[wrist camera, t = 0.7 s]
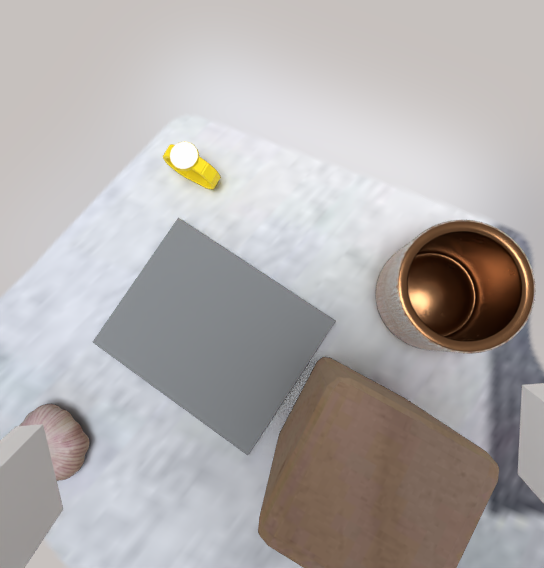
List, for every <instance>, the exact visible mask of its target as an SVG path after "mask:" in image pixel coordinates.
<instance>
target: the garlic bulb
mask: <svg viewBox="0 0 544 568" xmlns="http://www.w3.org/2000/svg"><path fill="white" fill-rule="evenodd" d="M40 424H43V426H44V430H45V435H46V439H47V443H48V447H49V451H50V455H51V460H52V464H53V468H54V472H55V476H56V480H57V481H59V480H65V479H67V478H70V477H71V476H73V475H74V474H75V473H76V472H77V471H78V470H79V469H80V468H81V466H82V465H83V462H84V459H85V454H86V452H87V450H88V448H89V444H90V443H89V438H88V436H87V435H86V434H85V433H84V432H83V430H82V428H81V426H80V424H79V423H78V422H76V421H75V420H74V419H73V417H72V415H71V414H70V413H69V412H68V411H66V410H63V409H61V408H60V407H59V406H57V405H53V404H45V405H42V406H40V407H38V408H37V409H35V410H34V411H32V412H31V413H29V414H28V415H27V416H26V418H25V420H24V421H23V422H22V423H21V424H20V425H19V426H28V425H40Z"/></svg>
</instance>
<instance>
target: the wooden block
mask: <svg viewBox="0 0 544 568" xmlns="http://www.w3.org/2000/svg"><path fill="white" fill-rule="evenodd" d="M498 473H499V467H498V465H497V463H496V462H495V461H494V460H493V459H492V457H491V456H490V455H489V454H488V453H487V452H486V451H484V450H483V449H481V448H480V447H478V446H477V445H475V444H474V443H472V442H471V441H469V440H468V439H466V438H465V437H463V436H461V435H460V434H458V433H457V432H455V431H454V430H452V429H451V428H449V427H448V426H446V425H445V424H443V423H442V422H440V421H439V420H437V419H436V418H434V417H433V416H431V415H429V414H428V413H426V412H425V411H423V410H422V409H420V408H419V407H417V406H416V405H414V404H413V403H411V402H410V401H408V400H407V399H405V398H403V397H402V396H400V395H398V394H396V393H394V392H392V391H390V390H389V389H387V388H385V387H383V386H381V385H379V384H378V383H376V382H374V381H372V380H370V379H368V378H366V377H365V376H363V375H361V374H359V373H357V372H355V371H354V370H352V369H350V368H348V367H346V366H344V365H342V364H341V363H339V362H337V361H335V360H333V359H331V358H326V357H322V358H321V359H320V360H319V361H318V362H317V363H316V365H315V367H314V369H313V370H312V372H311V374H310V376H309V378H308V380H307V382H306V384H305V386H304V388H303V390H302V392H301V393H300V395H299V397H298V399H297V401H296V403H295V405H294V407H293V409H292V411H291V413H290V415H289V416H288V418H287V420H286V422H285V424H284V426H283V428H282V430H281V432H280V434H279V437H278V441H277V445H276V450H275V454H274V458H273V462H272V467H271V471H270V475H269V479H268V483H267V488H266V492H265V496H264V500H263V505H262V509H261V513H260V517H259V528H258V533H259V535H260V537H261V538H262V539H263V540H264V541H265V542H266V544H267V545H268V546H270V547H271V548H273V549H275V550H276V551H278V552H279V553H281V554H283V555H284V556H286V557H287V558H289V559H291V560H292V561H294V562H296V563H297V564H299V565H300V566H302V567H304V568H456V567H457V565H458V563H459V561H460V559H461V557H462V555H463V553H464V551H465V549H466V546H467V544H468V542H469V540H470V538H471V536H472V534H473V532H474V530H475V528H476V525H477V523H478V521H479V519H480V517H481V515H482V513H483V511H484V509H485V507H486V505H487V502H488V500H489V498H490V496H491V494H492V492H493V490H494V488H495V486H496V484H497V482H498Z"/></svg>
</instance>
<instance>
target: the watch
mask: <svg viewBox="0 0 544 568" xmlns="http://www.w3.org/2000/svg"><path fill="white" fill-rule="evenodd" d="M163 159H164V160H165V162H166V163H167V164H168V165H169V166H170V167H171V168H172V169H174V170H175V171H176V172H178V173H179V174H181V175H182V176H183V177H185V178H187V179H189V180H191V181H193V182H195V183H197V184H199V185H201V186H203V187H205V188H207V189H214V188H215V186H216V185H217V183H218V181H219V179H220V178H221V177H220V175H219V173H218V172H217V171H216V169H215V168H213V167H212V166H211V165H210V164H209V163H207V162H206V161H205V160H204V159H202V158H201V157H199V152H198V150H197V148H196V147H195V146H194V145H193V144H192V143H189V142H180V143H177V144H176V145H173V144H172V145H170V146H169V147H168V149H167V150H166V152H165V154H164V155H163Z"/></svg>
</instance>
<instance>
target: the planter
mask: <svg viewBox="0 0 544 568" xmlns="http://www.w3.org/2000/svg"><path fill="white" fill-rule="evenodd" d="M534 300H535V279H534V274H533V271H532V267H531V265H530V263H529V260H528V258H527V257H526V255H525V253H524V252H523V250H522V249H521V248H520V247H519V245H518V244H517V243H516V242H515V241H514V240H513V239H512V238H511V237H509V236H508V235H507V234H505V233H504V232H502V231H501V230H499V229H497V228H495V227H493V226H491V225H488V224H486V223H482V222H478V221H473V220H453V221H447V222H443V223H440V224H437V225H435V226H433V227H431V228H429V229H427V230H425V231H424V232H422V233H421V234H419V235H418V236H417V237H416V238H415V239H413V240H412V241H411V242H410V243H408V244H407V245H406V246H404V247H403V248H402V249H400V250H399V251H398V252H396V253H395V254H394V255H393V256H392V257H391V258H390V259H389V260H388V261H387V263H386V264H385V265H384V267H383V269H382V271H381V273H380V275H379V278H378V282H377V287H376V302H377V307H378V310H379V313H380V316H381V318H382V320H383V321H384V323H385V324H386V326H387V327H388V328H389V330H390V331H391V332H392V333H393V334H394V335H396V336H397V337H398V338H399V339H401V340H402V341H404V342H405V343H407V344H409V345H412V346H414V347H417V348H421V349H426V350H435V351H447V352H455V353H468V354H469V353H481V352H485V351H489V350H492V349H495V348H497V347H499V346H501V345H503V344H505V343H507V342H508V341H509V340H511V339H512V338H513V337H514V336H515V335H516V334H517V333H518V332H519V331H520V330H521V329H522V328H523V326H524V325H525V323H526V322H527V320H528V318H529V316H530V314H531V311H532V308H533V305H534Z"/></svg>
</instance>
